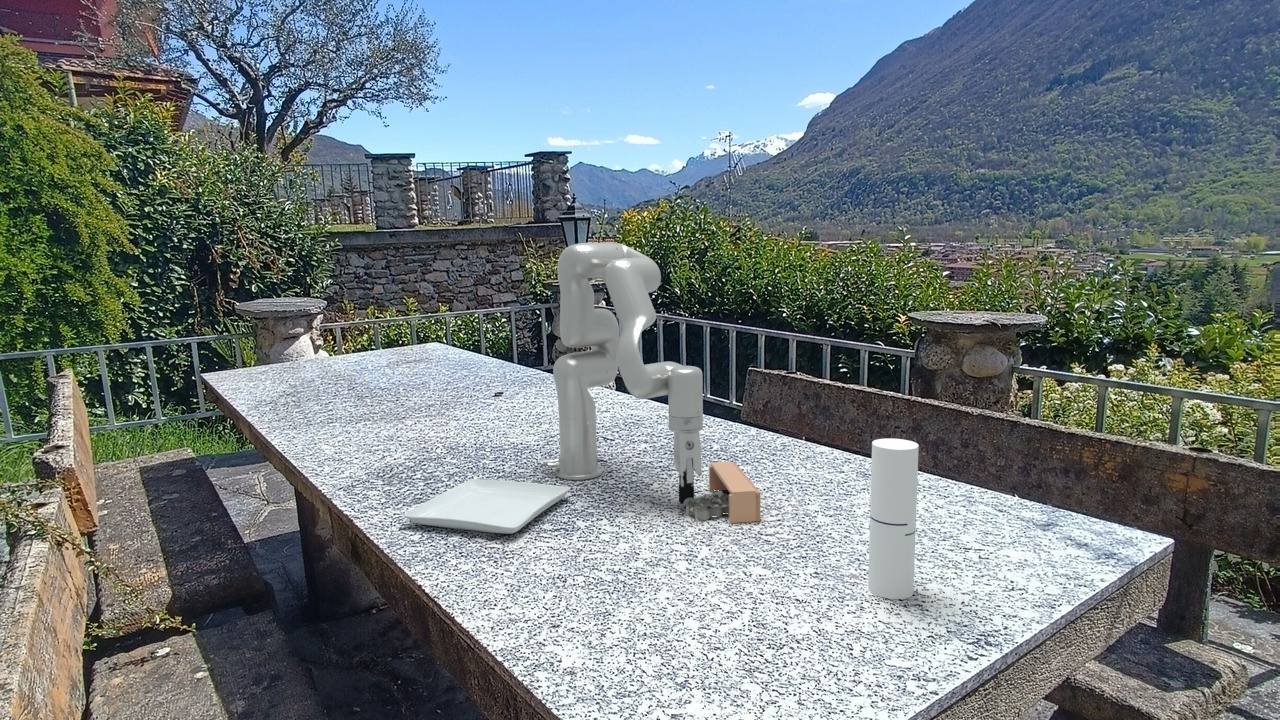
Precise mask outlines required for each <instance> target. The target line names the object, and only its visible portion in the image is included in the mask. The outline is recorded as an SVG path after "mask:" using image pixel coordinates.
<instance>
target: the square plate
mask: <svg viewBox="0 0 1280 720" xmlns="http://www.w3.org/2000/svg"><path fill="white" fill-rule="evenodd" d="M570 490H571V487H570V486H564V485H556V484H555V485H554V484H553V485H552V484H545V483H537V482H536V483H535V482H525V481H515V480H512V481H511V480H498V479H482V478H481V479H480V478H470V479H468V480H466V481H464V482H462V483H460V484H458V485H456V486H454V487H452V488H449V489H448V490H445V491H443V492H441V493H440V494H437V495H435V496H434V497H432V498H431V499H429V500H427V501H424V503H421V504H420V505H418V506H416V507H414V508H413V509H411V510H410V511H408V512H406V513H404V514H403V515H402V517H404V519H407V520H409V521H410V522H412V523H415V524H418V525H423V526H424V525H425V526H430V527H431V526H432V527H439V528H447V529H455V530H464V531H465V530H466V531H473V532H474V531H475V532H480V533H481V532H483V533H492V534H504V535H505V534H506V535H507V534H509V535H510V534H514V533H516V532H518V531H519V530H522V528H523V527H525V526H526V525H527V524H529V523H530V522H531V521H533V520H534V519H535V518H536V517H538V516H539V515H540V514H542V513H543V512H544V511H546V510H547V509H549V508H550V507H552V506H554V505H555V504H556V503H558V502H560V500H562V499H563V498H564V497H565V496H566V495H567V493H568V492H569V491H570Z"/></svg>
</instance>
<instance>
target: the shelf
mask: <svg viewBox="0 0 1280 720" xmlns="http://www.w3.org/2000/svg"><path fill="white" fill-rule="evenodd" d="M709 490H710V491H713V492H715V491H714V490H728V491H727V492H729V494H728V496H729V514H728V523H729V522H730V523H732V524H740V523H739V522H749V523H758V522H757V521H760V522H761V491H760V490H759V489H758V488H757V486H755V484H754V483H753V482H752V481H751V480H750V478H749V477H748V476H747V475H746V474H745V472H744V471H743V470H742V469H741V468H740V466H739V465H738V464H737V463H736V462H732V461H716V462H715V461H713V462H712V461H711V462H710V465H708V491H709ZM710 491H709V492H710ZM752 521H753V522H752ZM754 521H756V522H754ZM737 522H738V523H737ZM730 523H729V524H730Z"/></svg>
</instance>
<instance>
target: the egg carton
mask: <svg viewBox="0 0 1280 720" xmlns="http://www.w3.org/2000/svg"><path fill="white" fill-rule="evenodd" d="M682 505H686V506H685V515H686V514H687V515H686V516H688V515H694V516H693V517H694V519H697V520H698V521H703V520H708V519H709V520H710V518H709V517H711V516H717V517H719V516H721V517H722V516H723V515H724V514H723V513H728V514H727V515H729V494H727V493H724V491H721V490H719V491H715V492H714V493H708V494H707V493H704V494H702V495H699V496H695V497H694V498H691V497H689V498H687V499H686V500H685V501H684V502H683V504H682ZM722 514H723V515H722ZM711 518H712V517H711ZM697 520H696V521H697ZM709 520H708V521H709Z"/></svg>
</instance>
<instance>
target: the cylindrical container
mask: <svg viewBox="0 0 1280 720" xmlns="http://www.w3.org/2000/svg"><path fill="white" fill-rule="evenodd" d="M919 448H920V447H919V444H918V443H917V442H915V441H912V440H908V439H902V438H878V439H874V440H873V441H872V442H871V469H870V470H871V472H870V473H871V475H870V509H869V515H870V516H869V543H868V545H869V547H868V549H869V550H868V575H867V577H868V578H867V579H868V580H867V581H868V582H867V587H868V590H870V591H871V592H872V594H873V595H875V596H877V597H880V598H882V597H884V598H883V599H886V598H888V599H887V600H893V599H901V600H906V599H909V598H911V597H912V596H913V595H914V582H915V581H914V580H915V579H914V578H915V560H916V559H915V556H916V555H915V554H916V553H915V551H916V549H915V548H916V532H917V531H916V530H917V528H916V527H917V505H918V504H917V503H918V502H917V500H918V499H917V498H918V478H919V477H918V475H919V473H918V472H919V471H918V470H919V469H918V468H919ZM870 591H869V592H870Z"/></svg>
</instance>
